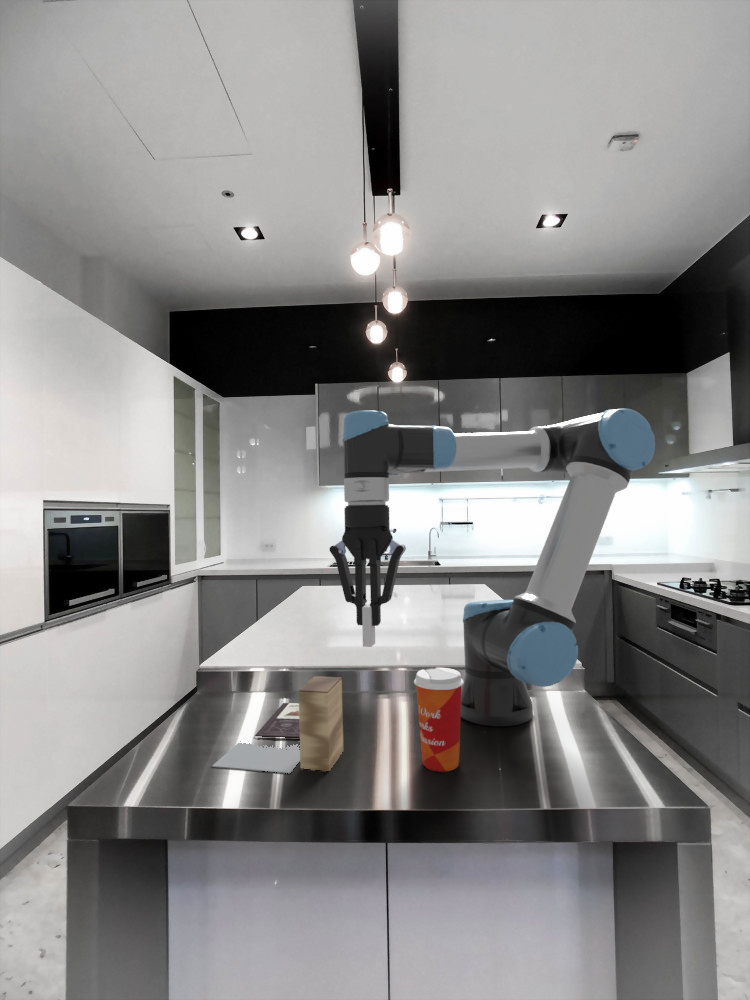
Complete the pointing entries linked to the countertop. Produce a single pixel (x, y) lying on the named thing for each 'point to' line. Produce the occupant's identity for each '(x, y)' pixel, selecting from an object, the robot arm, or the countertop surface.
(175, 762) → the countertop surface
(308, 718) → the oak block
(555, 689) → the countertop surface
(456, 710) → the coffee cup
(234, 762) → the felt mat
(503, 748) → the countertop surface
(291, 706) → the chocolate bar
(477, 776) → the countertop surface
